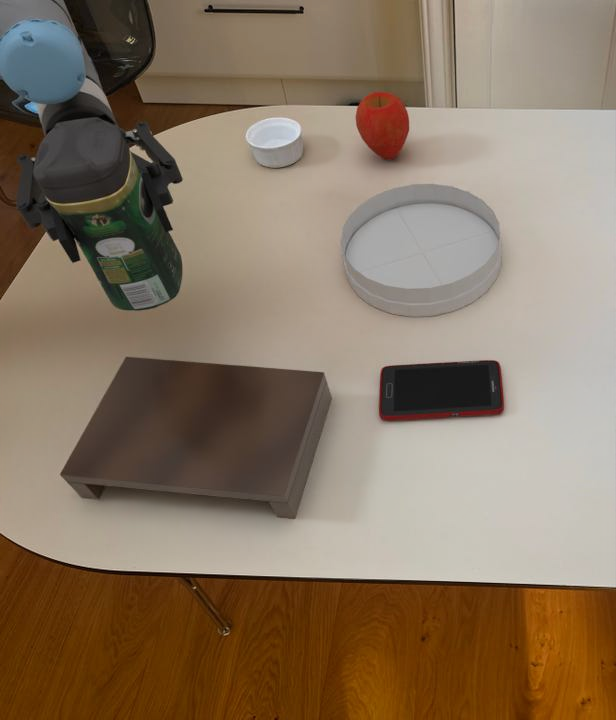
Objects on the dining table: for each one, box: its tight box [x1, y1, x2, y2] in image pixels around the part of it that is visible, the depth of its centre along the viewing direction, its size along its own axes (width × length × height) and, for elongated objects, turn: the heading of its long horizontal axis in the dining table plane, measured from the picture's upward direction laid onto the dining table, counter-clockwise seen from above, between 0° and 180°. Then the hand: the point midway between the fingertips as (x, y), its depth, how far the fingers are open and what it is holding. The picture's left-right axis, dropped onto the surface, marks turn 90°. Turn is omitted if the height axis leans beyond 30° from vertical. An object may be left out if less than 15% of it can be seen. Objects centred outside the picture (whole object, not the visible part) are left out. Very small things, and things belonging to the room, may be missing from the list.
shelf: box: [59, 356, 333, 519], centre depth 79 cm, size 24×16×5 cm, turn 83°
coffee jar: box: [33, 117, 183, 312], centre depth 71 cm, size 10×8×19 cm
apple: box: [355, 91, 410, 161], centre depth 112 cm, size 9×8×11 cm
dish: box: [340, 183, 503, 318], centre depth 98 cm, size 22×22×5 cm
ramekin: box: [245, 117, 304, 169], centre depth 115 cm, size 9×9×4 cm
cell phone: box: [378, 359, 505, 421], centre depth 84 cm, size 8×15×1 cm, turn 93°
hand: (118, 235), depth 68 cm, fingers closed on coffee jar, 8 cm apart
